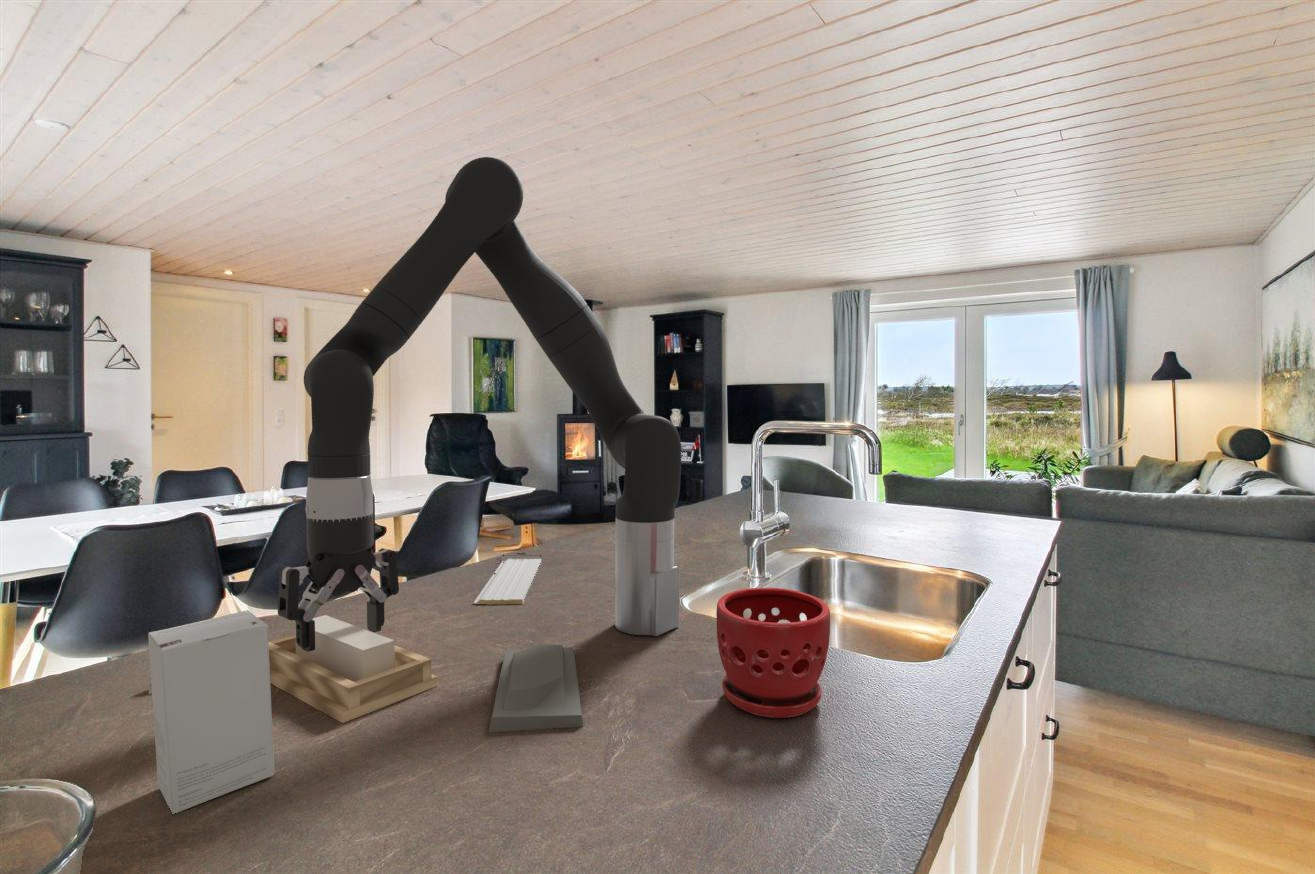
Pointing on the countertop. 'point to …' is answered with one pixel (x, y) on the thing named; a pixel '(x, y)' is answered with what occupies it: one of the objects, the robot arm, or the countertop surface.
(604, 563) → the countertop surface
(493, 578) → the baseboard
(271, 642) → the tray
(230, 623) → the skincare box
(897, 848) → the countertop surface
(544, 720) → the soap mold
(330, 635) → the white rectangular block
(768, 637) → the plant pot
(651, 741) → the countertop surface
